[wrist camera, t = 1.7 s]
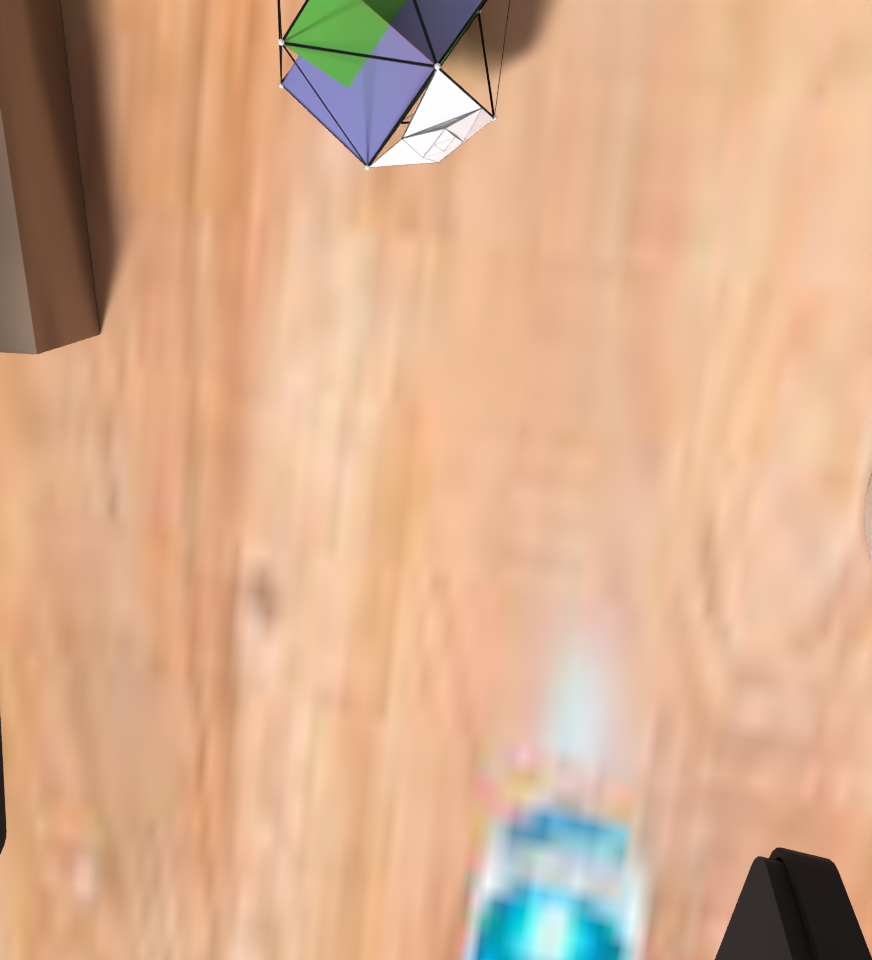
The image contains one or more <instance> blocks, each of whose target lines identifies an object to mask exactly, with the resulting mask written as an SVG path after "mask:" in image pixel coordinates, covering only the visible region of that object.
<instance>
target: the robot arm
mask: <svg viewBox="0 0 872 960" xmlns="http://www.w3.org/2000/svg"><path fill="white" fill-rule="evenodd" d="M864 529H865V535H866V541H867V547H868V553H869V558H870V560H871V562H872V477H871V480H870V484H869V487H868V491H867V495H866V505H865V522H864ZM5 840H6V813H5V794H4V775H3V756H2V737H1V718H0V854H1V851H2V849H3V847H4V844H5ZM715 960H872V957H871V955H870V952H869V949H868V947H867V944H866V942H865V939H864V936H863V934H862V931H861V929H860V926H859V923H858V921H857V918H856V916H855V913H854V910H853V908H852V905H851V903H850V900H849V897H848V895H847V892H846V890H845V887H844V884H843V882H842V879H841V877H840V874H839V871H838V869H837V868H836V866H835V864H834V863H833V862H832V861H831V860H830V859H826V858H822V857H818V856H814V855H810V854H806V853H801V852H797V851H793V850H789V849H785V848H776V849H775V850H774V851H772V853H771V855H770V857H769V858H765V857H757V858H756V859H755V860H754V861H753V863H752V866H751V868H750V871H749V873H748V876H747V878H746V881H745V884H744V886H743V889H742V891H741V894H740V896H739V899H738V902H737V904H736V907H735V909H734V912H733V914H732V917H731V920H730V922H729V925H728V927H727V930H726V932H725V935H724V937H723V940H722V943H721V945H720V948H719V950H718V953H717V955H716V958H715Z"/></svg>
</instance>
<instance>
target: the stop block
mask: <svg viewBox="0 0 872 960" xmlns="http://www.w3.org/2000/svg"><path fill="white" fill-rule="evenodd" d="M97 335H100V332H99V323H98V315H97V307H96V298H95V290H94V282H93V273H92V265H91V257H90V248H89V240H88V232H87V224H86V215H85V207H84V199H83V190H82V182H81V174H80V165H79V157H78V149H77V140H76V132H75V124H74V115H73V107H72V99H71V91H70V82H69V74H68V66H67V57H66V49H65V41H64V32H63V24H62V16H61V7H60V0H0V352H4V353H22V354H40V353H43V352H46V351H49V350H52V349H55V348H59V347H62V346H65V345H68V344H71V343H74V342H78V341H81V340H84V339H87V338H90V337H93V336H97Z"/></svg>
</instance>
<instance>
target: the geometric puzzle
mask: <svg viewBox="0 0 872 960" xmlns="http://www.w3.org/2000/svg"><path fill="white" fill-rule="evenodd" d="M486 2H487V0H306V1H305V3H304V4H303V6H302V8H301V9H300V11H299V13H298V14H297V16H296V17H295V19H294V21H293V22H292V24H291V26H290V27H289V29H288V30H287V32H286V34H285V35H284V37H283V39H282V29H281V11H280V0H278V25H279V41H278V43H279V50H280V76H281V83H280V84H279V87H280V88H285V89H286V90H287V91H288V92H289V93H290V94H291V95H292V96H293V97H294V98H295V99H296V100H297V101H298V102H299V103H300V104H302V105H303V106H304V107H305V108H306V109H307V110H308V111H309V112H310V113H311V114H312V115H313V116H314V117H315V118H316V119H317V120H318V121H319V122H320V123H321V124H322V125H323V126H325V127H326V128H327V129H328V130H329V131H330V132H331V133H332V134H333V135H334V136H335V137H336V138H337V139H338V140H339V141H340V142H341V143H342V144H343V145H344V146H345V147H346V148H348V149H349V150H350V151H351V152H352V153H353V154H354V155H355V156H356V157H357V158H358V159H359V160H360V161H361V162H362V163H363V164H364V165H365V169H366V170H369V169H370V167H383V166H397V165H411V164H425V163H439V162H440V161H441V160H442V159H444V158H445V157H446V156H448V155H449V154H450V153H451V152H453V151H454V150H455V149H456V148H458V147H459V146H460V145H462V144H463V143H464V142H465V141H467V140H468V139H469V138H470V137H472V136H473V135H474V134H475V133H477V132H478V131H479V130H481V129H482V128H483V127H484V126H486V125H487V124H488V123H489V122H491V121H492V120H494V121H495V120H496V119H497V116H496V115H495V114H494V107H493V100H492V93H491V87H490V80H489V73H488V66H487V59H486V53H485V46H484V39H483V32H482V25H481V19H480V13H481V9H482V8H483V6H484V5H485V3H486ZM509 4H510V0H509ZM508 12H509V8H508ZM477 15H478V19H479V25H480V32H481V39H482V46H483V53H484V60H485V66H486V73H487V80H488V87H489V94H490V101H491V108H492V114H493V115H492V114H491V113H490V112H488V111H487V110H486V109H485V108H484V107H483V106H482V105H481V104H480V103H479V102H477V101H476V100H475V99H474V98H473V97H472V96H471V95H470V94H469V93H467V92H466V91H465V90H464V89H463V88H462V87H461V86H460V85H459V84H458V83H456V82H455V81H454V80H453V79H452V78H451V77H450V76H449V75H448V74H446V73H445V72H444V71H443V70H442V69H441V68H440V67H441V66H442V64H443V63H444V61H445V60H446V59H447V57H448V56H449V54H450V53H451V52H452V50H453V49H454V47H455V46H456V44H457V43H458V42H459V40H460V39H461V37H462V36H463V34H464V33H465V32H466V30H467V29H468V27H469V26H470V25H471V23H472V22H473V20H474V19H475V17H476V16H477ZM507 19H508V15H507ZM506 27H507V23H506ZM280 35H281V39H280ZM505 35H506V31H505ZM504 42H505V39H504ZM284 45H285V46H286V47H288V48H289V49H291V50H292V51H294V52H295V53H297V54H298V55H299V57H298V58H297V60H296V61H295V60H294V59H293V57H292V56H291V54H290V53H289V51H288V50H287V49H286V47H285V46H284ZM282 46H283V47H284V49H285V50H286V51H287V53H288V54H289V56H290V57H291V59H292V60H293V62H294V65H293V66H292V68H291V69H290V71H289V72H288V73H287V75H286V76H285V77H284V79H283V80H282ZM503 50H504V46H503ZM502 58H503V54H502ZM501 65H502V62H501ZM500 73H501V69H500ZM499 81H500V77H499ZM428 84H429V85H428ZM427 86H428V87H427ZM426 87H427V89H426V91H425V93H424V95H423V97H422V99H421V101H420V103H419V105H418V107H417V109H416V111H415V113H414V115H413V117H412V119H411V121H410V122H402V121H403V120H404V118H405V117H406V115H407V114H408V113H409V111H410V110H411V108H412V107H413V105H414V104H415V103H416V101H417V100H418V98H419V97H420V96H421V94H422V93H423V91H424V90H425V88H426ZM498 88H499V85H498ZM497 96H498V92H497ZM496 104H497V100H496ZM495 111H496V108H495ZM401 124H409V125H408V127H407V129H406V131H405V133H404V135H403V137H402V139H401V140H400V141H398V142H397V143H396V144H395V145H394V146H392V147H391V148H390V149H389V150H388V151H386V152H385V153H384V154H383V155H382V156H381V157H379V158H378V159H377V160H376V161H375V162H373V161H374V160H375V158H376V157H377V155H378V154H379V153H380V151H381V150H382V149H383V147H384V146H385V144H386V143H387V142H388V140H389V139H390V138H391V136H392V135H393V133H394V132H395V131H396V129H397V128H398V127H399V125H401Z"/></svg>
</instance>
